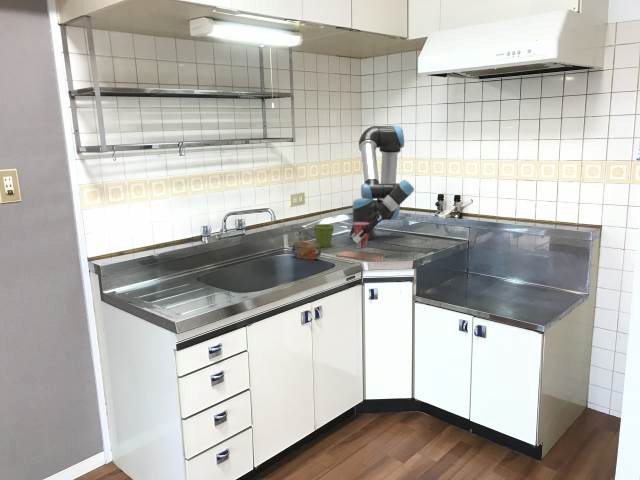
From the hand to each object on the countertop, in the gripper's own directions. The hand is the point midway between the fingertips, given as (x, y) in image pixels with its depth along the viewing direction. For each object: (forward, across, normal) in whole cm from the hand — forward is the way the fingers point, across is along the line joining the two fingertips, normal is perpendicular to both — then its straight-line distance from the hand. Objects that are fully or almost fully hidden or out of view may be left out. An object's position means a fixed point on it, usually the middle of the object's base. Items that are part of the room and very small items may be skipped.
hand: (353, 239), depth 259 cm
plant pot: (+15, +26, +3) cm, 30 cm away
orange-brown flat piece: (+23, -2, +10) cm, 25 cm away
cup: (0, 0, -5) cm, 5 cm away
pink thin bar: (+1, +7, -11) cm, 13 cm away
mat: (+4, 0, -8) cm, 9 cm away
